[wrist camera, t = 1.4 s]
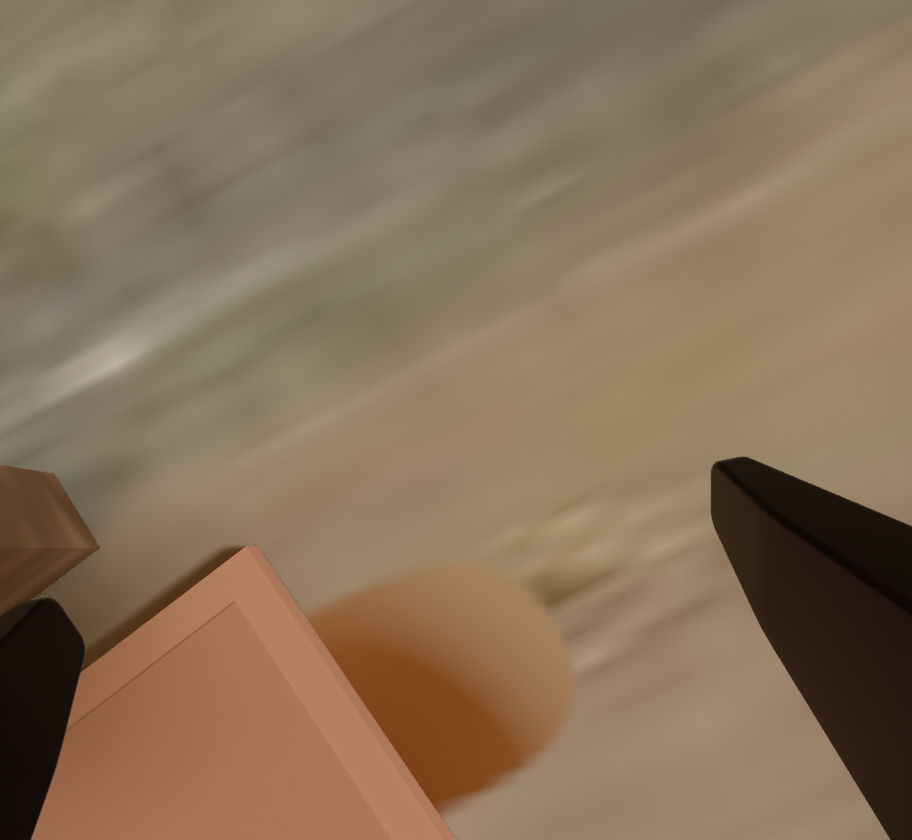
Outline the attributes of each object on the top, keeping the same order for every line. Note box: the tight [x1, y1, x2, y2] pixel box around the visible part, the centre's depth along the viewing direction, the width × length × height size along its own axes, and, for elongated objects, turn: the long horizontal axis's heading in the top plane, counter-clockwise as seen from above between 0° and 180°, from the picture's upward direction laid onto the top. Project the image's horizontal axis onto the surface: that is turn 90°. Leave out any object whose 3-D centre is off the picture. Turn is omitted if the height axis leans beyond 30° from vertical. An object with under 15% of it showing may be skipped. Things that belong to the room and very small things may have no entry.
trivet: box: [31, 546, 456, 840], centre depth 21 cm, size 13×13×1 cm
